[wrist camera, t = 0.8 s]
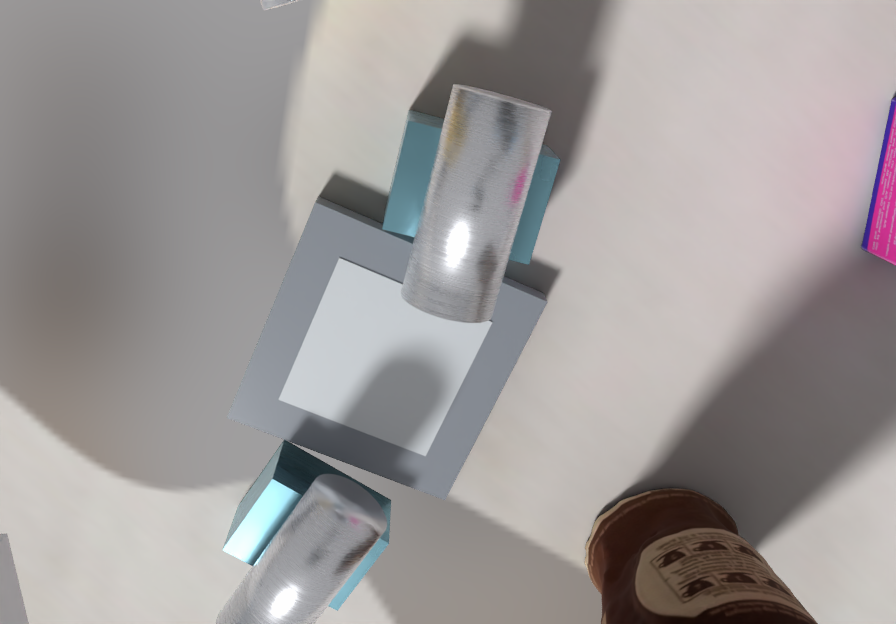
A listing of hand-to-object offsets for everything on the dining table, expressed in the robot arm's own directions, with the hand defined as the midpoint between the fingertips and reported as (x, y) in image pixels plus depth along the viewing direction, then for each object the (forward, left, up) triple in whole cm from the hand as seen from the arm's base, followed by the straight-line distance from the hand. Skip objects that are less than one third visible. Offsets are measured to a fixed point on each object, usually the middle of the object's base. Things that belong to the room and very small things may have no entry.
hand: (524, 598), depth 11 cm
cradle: (+6, 0, -21) cm, 22 cm away
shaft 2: (-2, 0, -21) cm, 21 cm away
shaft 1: (+13, 0, -21) cm, 25 cm away
